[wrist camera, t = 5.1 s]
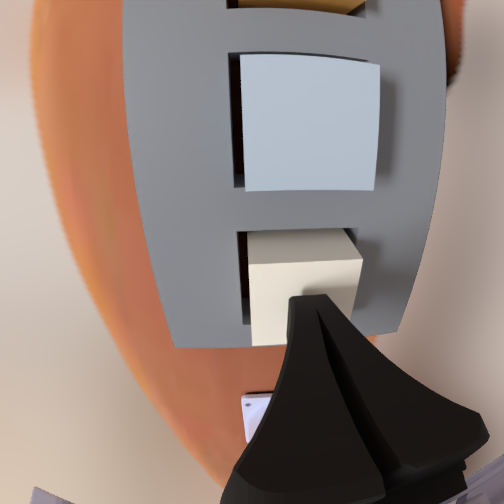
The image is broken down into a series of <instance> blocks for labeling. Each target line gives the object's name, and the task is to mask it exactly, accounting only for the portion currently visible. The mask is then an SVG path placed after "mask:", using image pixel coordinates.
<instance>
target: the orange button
mask: <svg viewBox="0 0 504 504" xmlns="http://www.w3.org/2000/svg"><path fill="white" fill-rule="evenodd" d="M364 1H366V0H238V4H239V8H284V9H300V10H312V11H321V12H329V13H336V14H342V15H346V14H347V13H348V12H350V11H351V10H353V9H354V8H356V7H357V6H359V5H360V4H361V3H363V2H364Z"/></svg>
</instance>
